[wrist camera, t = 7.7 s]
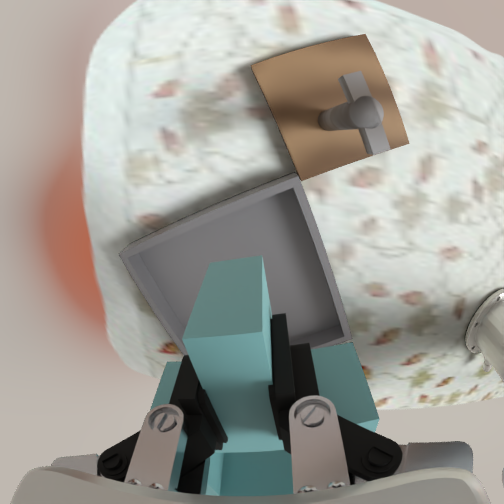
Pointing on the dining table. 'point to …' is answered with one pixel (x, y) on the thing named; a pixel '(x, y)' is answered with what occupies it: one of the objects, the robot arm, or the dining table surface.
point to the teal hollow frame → (254, 379)
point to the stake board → (331, 104)
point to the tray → (242, 246)
